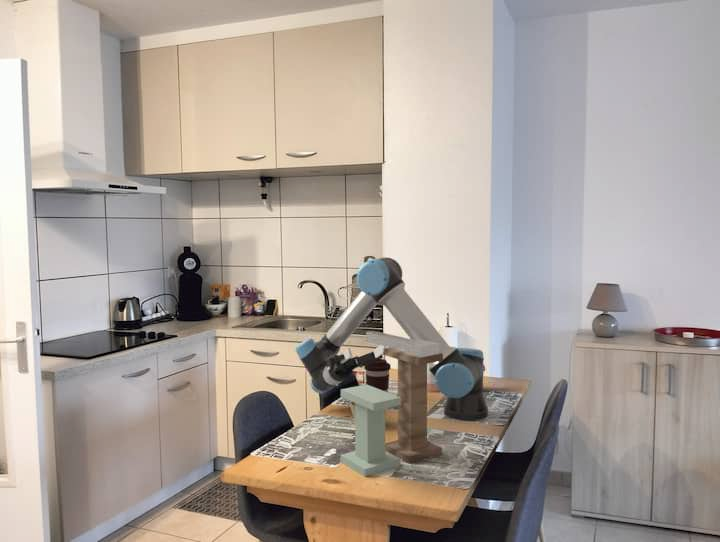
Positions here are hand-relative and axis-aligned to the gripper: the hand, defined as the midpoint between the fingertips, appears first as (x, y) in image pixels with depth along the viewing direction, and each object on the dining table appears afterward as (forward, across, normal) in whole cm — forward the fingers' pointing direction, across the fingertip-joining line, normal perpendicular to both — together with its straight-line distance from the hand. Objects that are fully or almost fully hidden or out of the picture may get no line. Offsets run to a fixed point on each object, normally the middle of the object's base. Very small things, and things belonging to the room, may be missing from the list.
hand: (368, 349), depth 193 cm
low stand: (+6, +15, -34) cm, 38 cm away
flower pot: (-19, -3, -20) cm, 28 cm away
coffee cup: (-37, -23, -10) cm, 44 cm away
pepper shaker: (-36, -48, -10) cm, 60 cm away
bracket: (+16, +1, -5) cm, 17 cm away
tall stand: (+6, 0, -34) cm, 34 cm away
